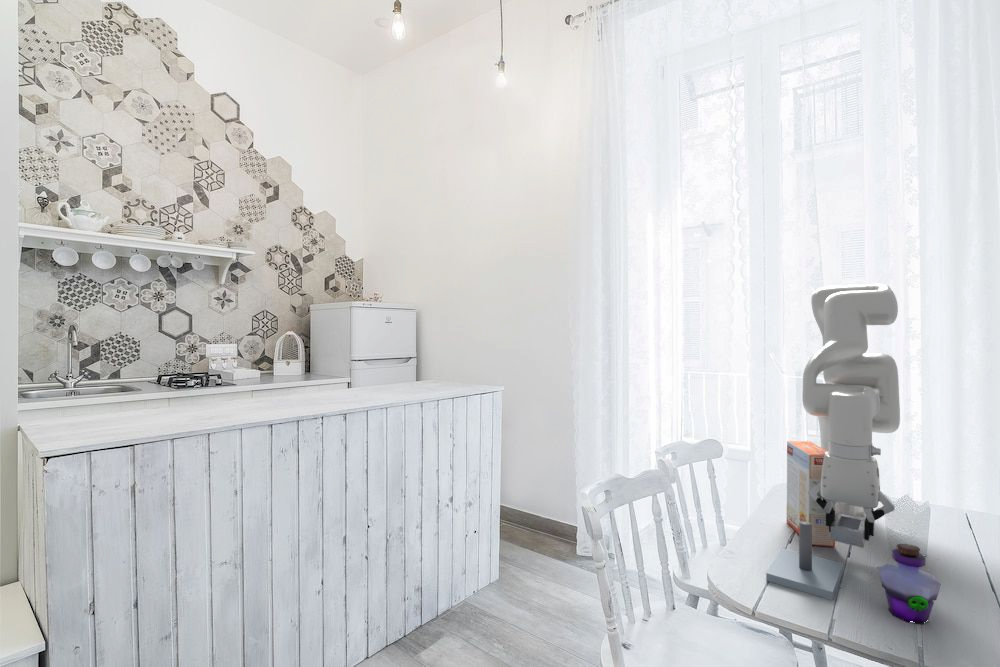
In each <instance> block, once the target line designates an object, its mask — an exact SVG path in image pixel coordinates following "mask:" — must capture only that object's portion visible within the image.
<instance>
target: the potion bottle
mask: <svg viewBox="0 0 1000 667" xmlns="http://www.w3.org/2000/svg"><path fill="white" fill-rule="evenodd" d="M920 552H921V549H920V548H919V546H916V545H912V544H908V543H897V544H896V548H895V549H893V550H892V552H891V554H892V556H891V558H892V559H893V560H894V561H895V563H897V564H895V563H894V564H893V563H886V564H884V565H881V566H879V567H877V571H878V575H879V580H880V583H881V586H882V588H883V589H884V594H885V597H886V600H887V604H888V608H887V610H888V612H889V613H890V614H891V616H893V617H895V618H897V619H899V620H900V621H901V620H902V621H903V622H906V623H909V622H910V621H913V622H915V623H914V624H917V625H925V624H924V622H926V621H927V620H929V619H930V616H931V613H932V609H933V605H934V603H935V602H934V601H937V600H938V597H939V594H940V590H941V588H942V583H941V582H940V581H939V580H938V579H937V577H935V576H934V575H933V574H932V573H929V572H927V571H923V570H922V569H920V568H922V567H925V566H926V557H925V556H924V555H923V554H922V553H920Z"/></svg>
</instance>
